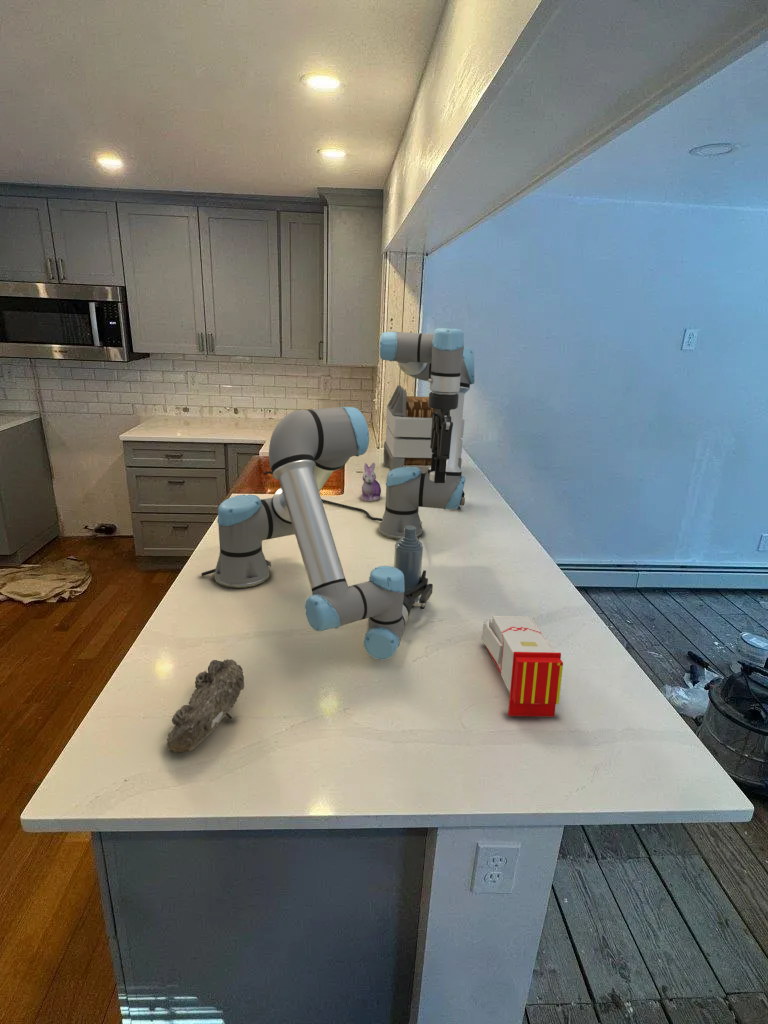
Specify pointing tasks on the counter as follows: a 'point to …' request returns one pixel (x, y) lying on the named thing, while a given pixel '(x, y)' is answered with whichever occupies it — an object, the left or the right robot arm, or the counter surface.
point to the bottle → (409, 558)
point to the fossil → (206, 705)
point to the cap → (433, 476)
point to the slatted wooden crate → (409, 431)
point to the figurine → (370, 484)
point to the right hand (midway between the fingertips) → (437, 479)
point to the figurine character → (462, 500)
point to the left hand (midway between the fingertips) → (409, 572)
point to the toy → (525, 665)
